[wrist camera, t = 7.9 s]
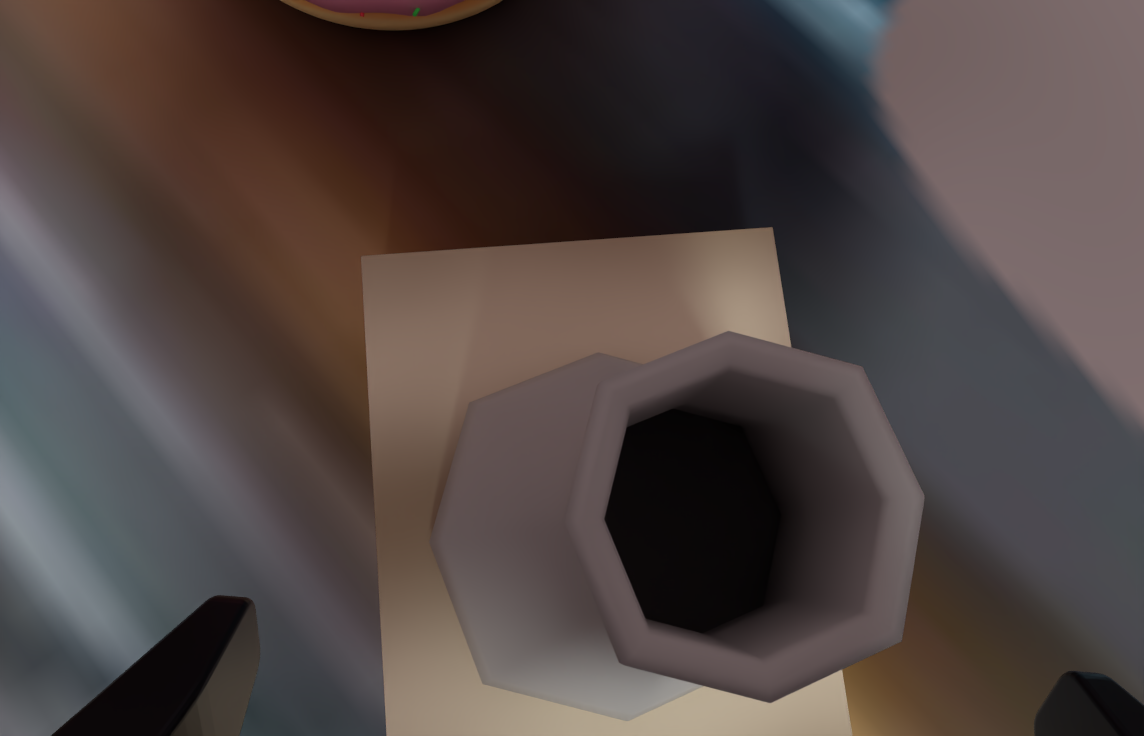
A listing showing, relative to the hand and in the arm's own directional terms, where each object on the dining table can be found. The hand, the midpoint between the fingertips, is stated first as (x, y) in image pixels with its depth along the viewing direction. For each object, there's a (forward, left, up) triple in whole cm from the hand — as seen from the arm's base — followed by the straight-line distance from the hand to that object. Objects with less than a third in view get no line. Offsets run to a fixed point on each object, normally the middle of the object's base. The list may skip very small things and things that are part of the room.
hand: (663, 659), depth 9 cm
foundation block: (+2, 0, -11) cm, 11 cm away
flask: (+2, -1, -8) cm, 8 cm away
